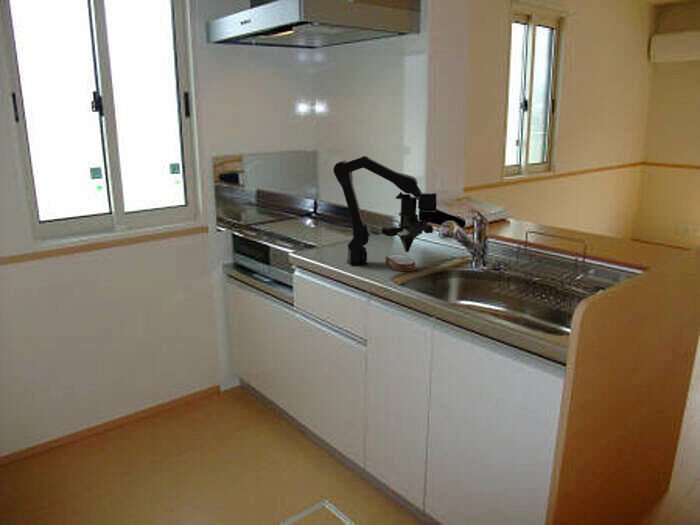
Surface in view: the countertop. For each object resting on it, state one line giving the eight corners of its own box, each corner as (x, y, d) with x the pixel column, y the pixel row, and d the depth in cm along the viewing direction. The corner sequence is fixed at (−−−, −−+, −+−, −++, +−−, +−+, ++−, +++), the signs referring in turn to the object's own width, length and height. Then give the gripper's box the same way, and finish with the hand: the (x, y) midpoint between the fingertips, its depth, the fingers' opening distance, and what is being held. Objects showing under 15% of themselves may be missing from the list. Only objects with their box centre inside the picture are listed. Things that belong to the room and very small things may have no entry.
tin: (401, 259, 214) (381, 262, 211) (401, 251, 213) (381, 255, 210) (419, 269, 200) (398, 273, 198) (419, 261, 199) (398, 265, 197)
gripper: (394, 216, 191) (393, 259, 195) (441, 213, 197) (439, 255, 201) (381, 211, 201) (380, 252, 205) (426, 208, 207) (425, 248, 211)
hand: (406, 251), depth 205 cm, fingers closed
